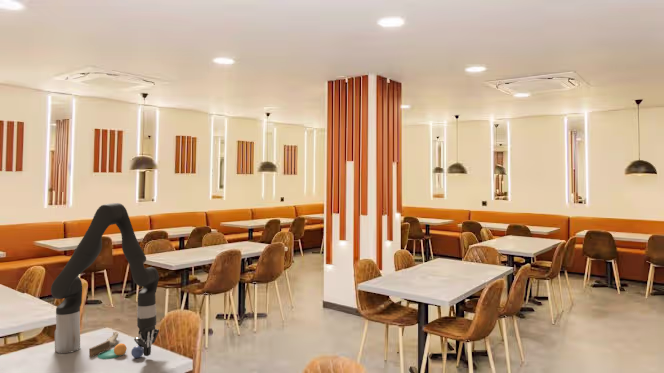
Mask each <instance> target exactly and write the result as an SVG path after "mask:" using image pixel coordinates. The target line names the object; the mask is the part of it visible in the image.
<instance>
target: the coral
mask: <svg viewBox="0 0 664 373" xmlns="http://www.w3.org/2000/svg"><path fill="white" fill-rule="evenodd" d="M112 333H113V334H112V335H111V336H109V337H108V338H107V339H106V341H110V347H113V346H116V345H117V342H116V341H117V338H118V336H119V333H118V331H114V332H112ZM106 341H104V342H106Z"/></svg>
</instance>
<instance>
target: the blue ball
mask: <svg viewBox="0 0 664 373" xmlns="http://www.w3.org/2000/svg"><path fill="white" fill-rule="evenodd" d="M130 354H131V356H132V357H133V358H135V359H139V358H141V357H142V356H144V348H143V347H139V345H135V346H134V347H132V349H131V351H130Z"/></svg>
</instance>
